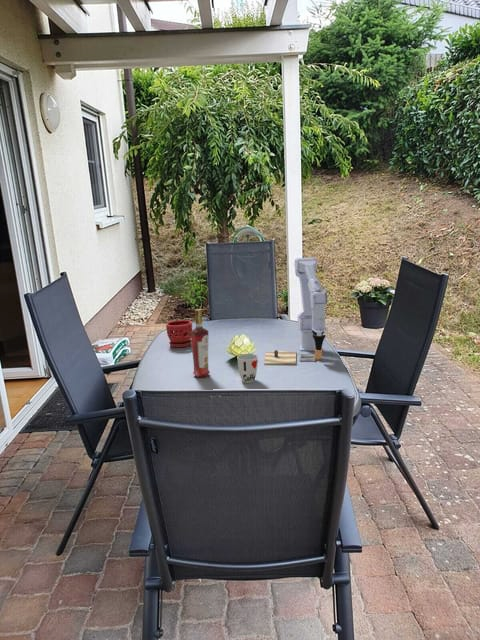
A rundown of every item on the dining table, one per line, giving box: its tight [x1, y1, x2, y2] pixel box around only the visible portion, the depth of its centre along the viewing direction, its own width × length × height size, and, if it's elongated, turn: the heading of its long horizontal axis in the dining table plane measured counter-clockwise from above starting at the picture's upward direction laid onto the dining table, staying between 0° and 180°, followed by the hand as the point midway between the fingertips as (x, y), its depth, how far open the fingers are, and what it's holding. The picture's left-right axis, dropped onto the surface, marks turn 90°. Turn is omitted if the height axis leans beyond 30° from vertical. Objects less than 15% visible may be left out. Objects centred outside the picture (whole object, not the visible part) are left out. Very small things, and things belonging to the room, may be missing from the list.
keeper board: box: [263, 349, 297, 366], centre depth 217 cm, size 18×14×4 cm
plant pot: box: [165, 320, 193, 348], centre depth 242 cm, size 13×13×12 cm
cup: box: [236, 353, 259, 384], centre depth 189 cm, size 8×8×10 cm
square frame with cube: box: [298, 347, 323, 362], centre depth 215 cm, size 10×7×5 cm
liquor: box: [190, 308, 211, 378], centre depth 195 cm, size 7×7×28 cm
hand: (318, 347), depth 214 cm, fingers open, 7 cm apart
